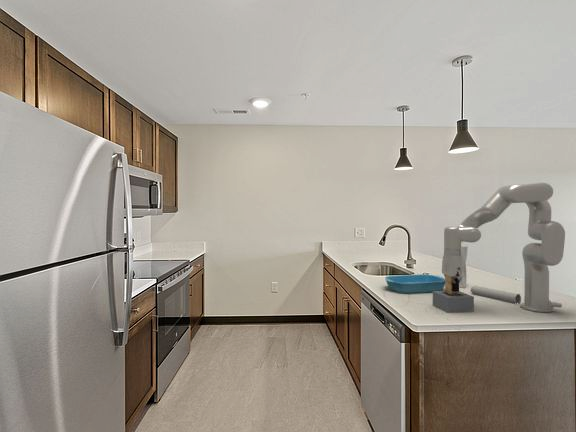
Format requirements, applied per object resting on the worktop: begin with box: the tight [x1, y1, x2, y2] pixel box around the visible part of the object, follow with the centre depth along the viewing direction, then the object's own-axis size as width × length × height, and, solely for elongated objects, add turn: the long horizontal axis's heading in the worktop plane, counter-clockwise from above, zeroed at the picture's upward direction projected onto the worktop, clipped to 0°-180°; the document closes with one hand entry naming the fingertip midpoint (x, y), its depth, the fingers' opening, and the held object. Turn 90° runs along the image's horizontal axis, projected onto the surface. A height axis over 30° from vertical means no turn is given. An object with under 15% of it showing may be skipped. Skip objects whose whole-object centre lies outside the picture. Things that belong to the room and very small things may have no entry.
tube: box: [470, 285, 522, 305], centre depth 182 cm, size 5×5×25 cm
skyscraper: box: [459, 242, 469, 289], centre depth 210 cm, size 8×8×28 cm
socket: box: [432, 290, 475, 314], centre depth 163 cm, size 13×13×7 cm
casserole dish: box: [384, 273, 445, 294], centre depth 203 cm, size 37×22×7 cm, turn 101°
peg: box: [444, 275, 460, 295], centre depth 163 cm, size 4×4×10 cm
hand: (452, 289), depth 163 cm, fingers closed on peg, 4 cm apart
